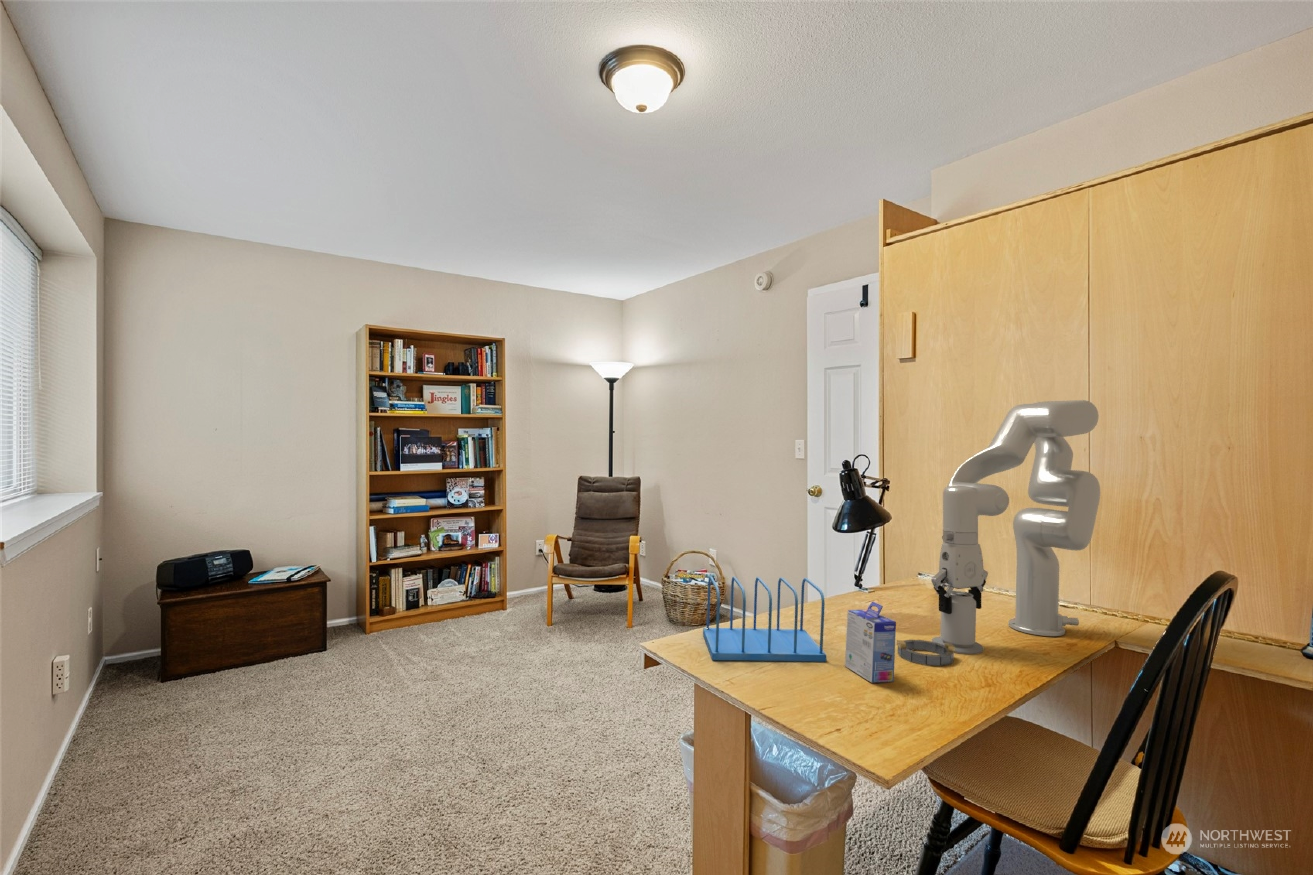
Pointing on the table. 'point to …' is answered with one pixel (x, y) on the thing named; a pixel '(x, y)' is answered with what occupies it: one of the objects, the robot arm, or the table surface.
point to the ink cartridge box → (870, 644)
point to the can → (960, 620)
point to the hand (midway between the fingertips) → (960, 609)
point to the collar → (926, 659)
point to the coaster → (974, 649)
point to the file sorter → (763, 633)
